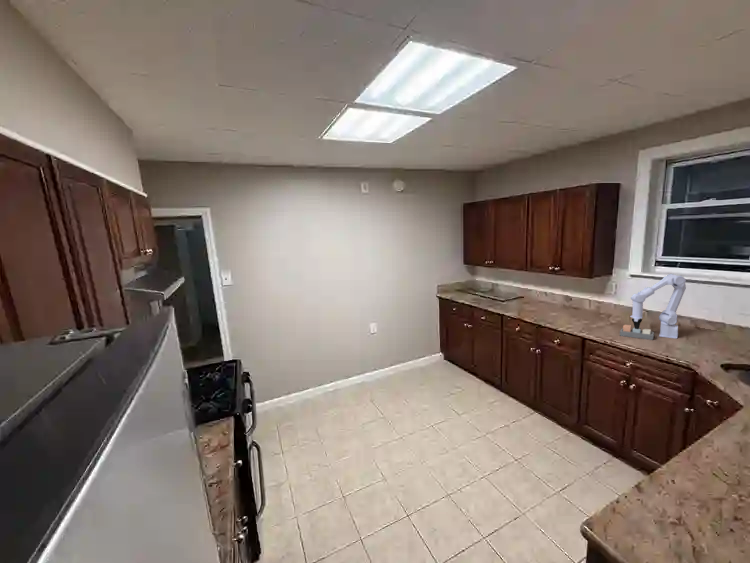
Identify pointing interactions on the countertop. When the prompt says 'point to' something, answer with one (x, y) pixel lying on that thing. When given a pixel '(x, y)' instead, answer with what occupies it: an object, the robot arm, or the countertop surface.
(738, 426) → the countertop surface
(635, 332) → the key slate
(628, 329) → the key terracotta
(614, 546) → the countertop surface
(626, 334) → the grey slotted frame
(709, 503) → the countertop surface
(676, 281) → the robot arm
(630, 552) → the countertop surface
